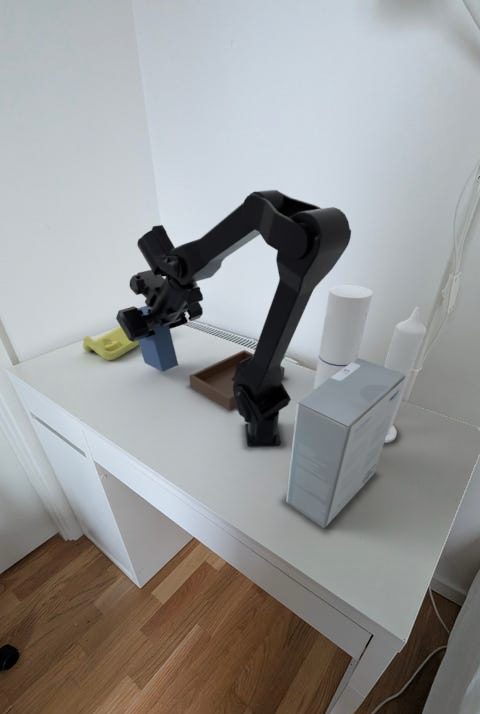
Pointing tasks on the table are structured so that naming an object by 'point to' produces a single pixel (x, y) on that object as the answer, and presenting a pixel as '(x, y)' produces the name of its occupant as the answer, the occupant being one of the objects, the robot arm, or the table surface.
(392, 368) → the white nozzle bottle
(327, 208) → the robot arm
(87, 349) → the plastic component
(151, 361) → the back pad
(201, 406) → the table surface
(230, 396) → the tray
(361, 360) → the hard drive box
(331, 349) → the cylindrical container
